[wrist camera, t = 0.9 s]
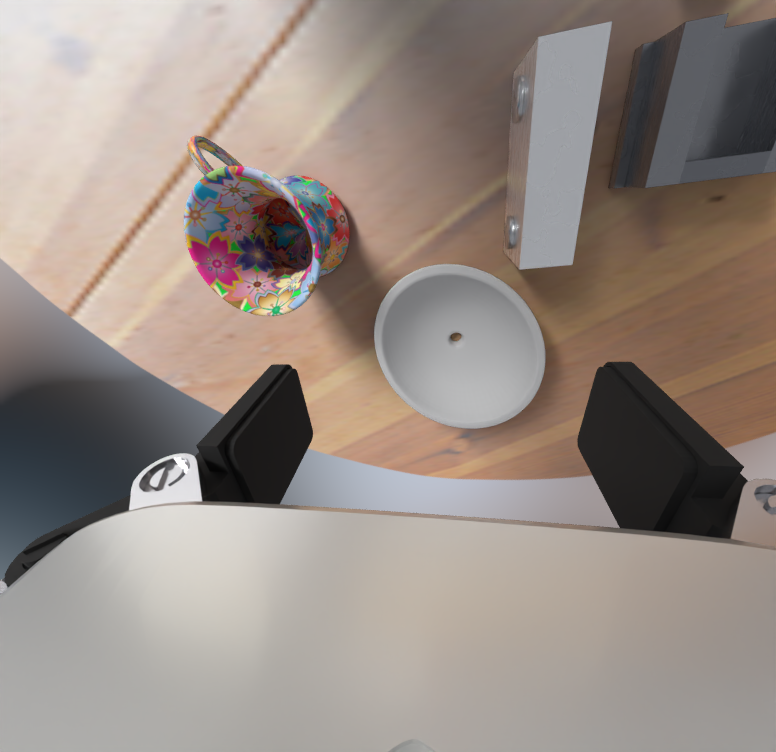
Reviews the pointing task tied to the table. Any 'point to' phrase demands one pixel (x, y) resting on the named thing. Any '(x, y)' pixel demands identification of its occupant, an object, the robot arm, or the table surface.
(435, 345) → the dish
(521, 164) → the gray trapezoid plate
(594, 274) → the table surface
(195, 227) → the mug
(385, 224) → the table surface
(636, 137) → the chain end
